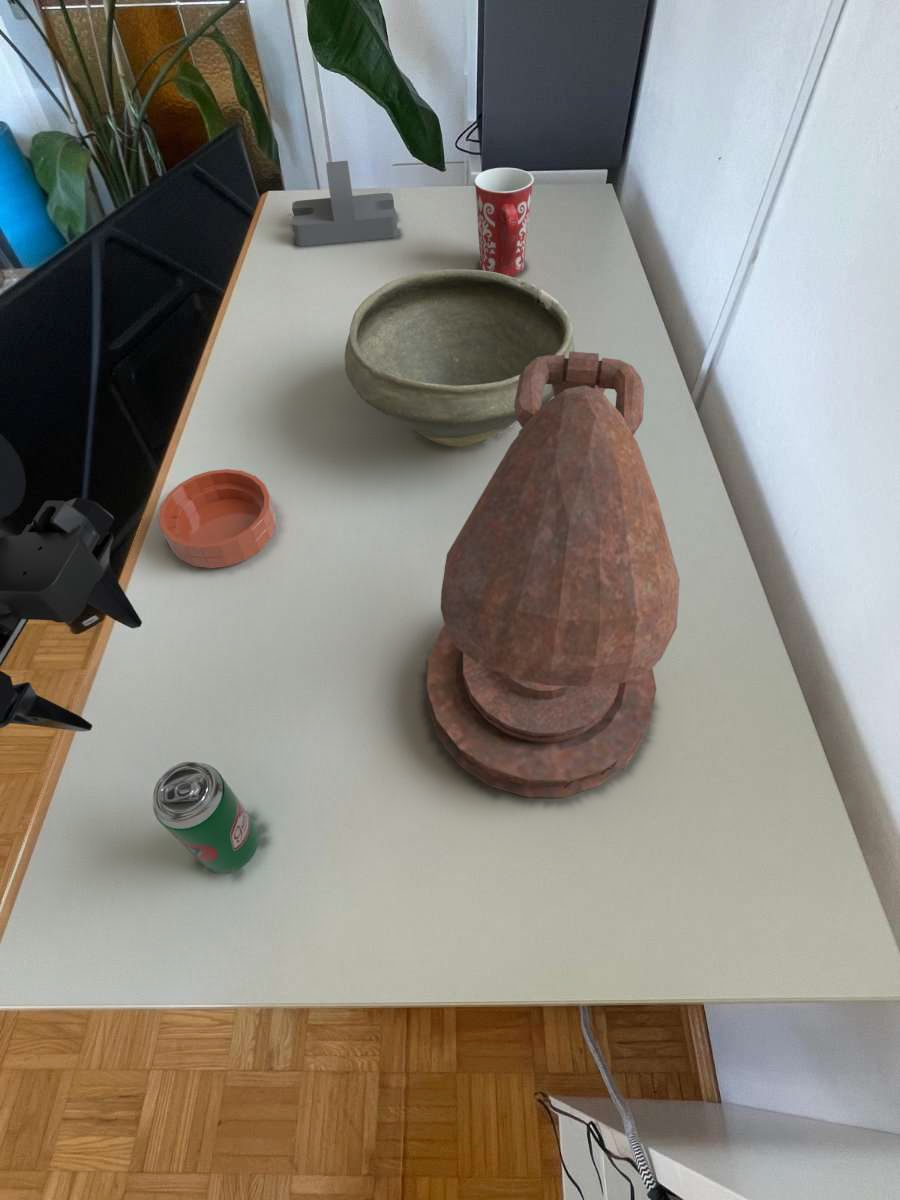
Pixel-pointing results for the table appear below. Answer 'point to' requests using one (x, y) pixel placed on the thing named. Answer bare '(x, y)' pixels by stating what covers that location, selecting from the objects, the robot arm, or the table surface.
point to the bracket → (343, 213)
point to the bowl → (452, 350)
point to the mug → (503, 218)
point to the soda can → (205, 816)
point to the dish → (218, 518)
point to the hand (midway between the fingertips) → (114, 674)
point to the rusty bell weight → (557, 592)
